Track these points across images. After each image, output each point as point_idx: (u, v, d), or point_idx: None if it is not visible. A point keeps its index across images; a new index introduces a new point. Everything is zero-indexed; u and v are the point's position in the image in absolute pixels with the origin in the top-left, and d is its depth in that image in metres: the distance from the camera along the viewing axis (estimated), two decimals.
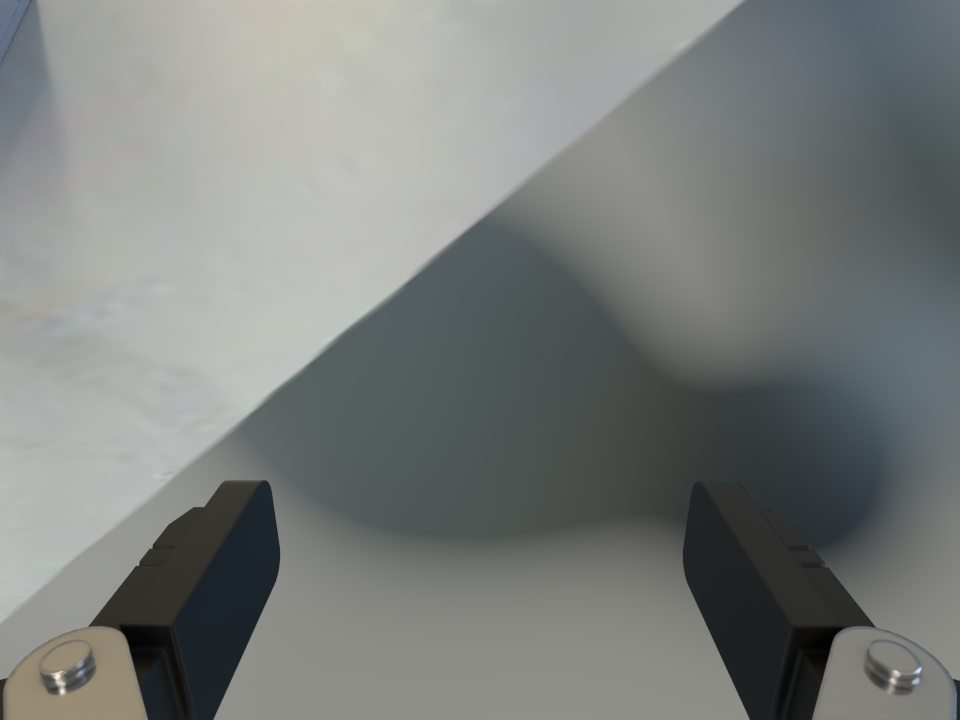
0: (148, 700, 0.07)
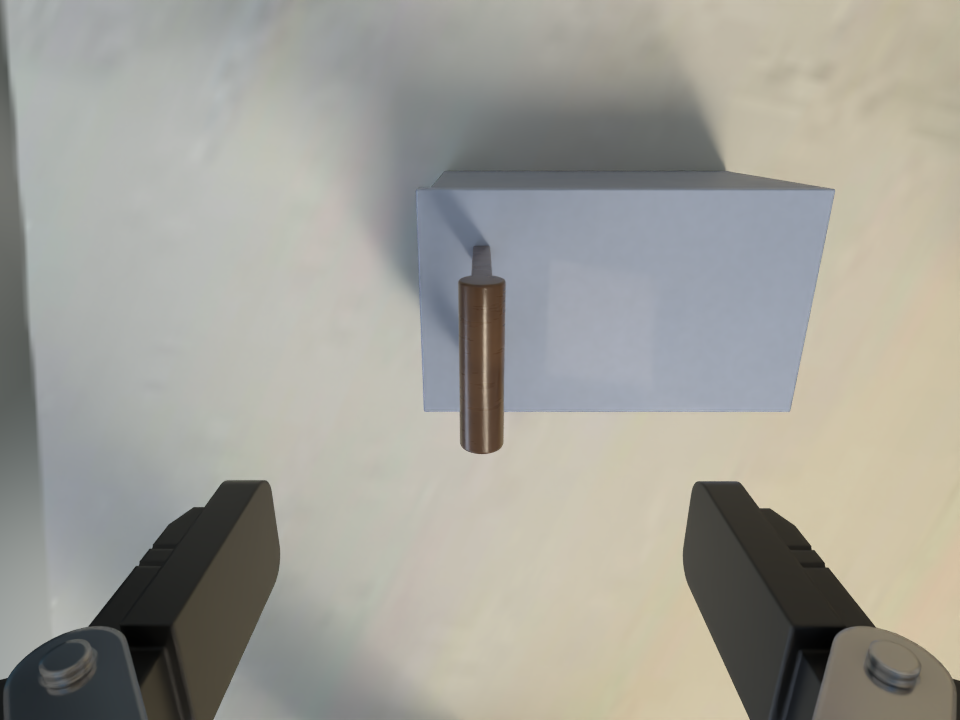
0: (148, 700, 0.07)
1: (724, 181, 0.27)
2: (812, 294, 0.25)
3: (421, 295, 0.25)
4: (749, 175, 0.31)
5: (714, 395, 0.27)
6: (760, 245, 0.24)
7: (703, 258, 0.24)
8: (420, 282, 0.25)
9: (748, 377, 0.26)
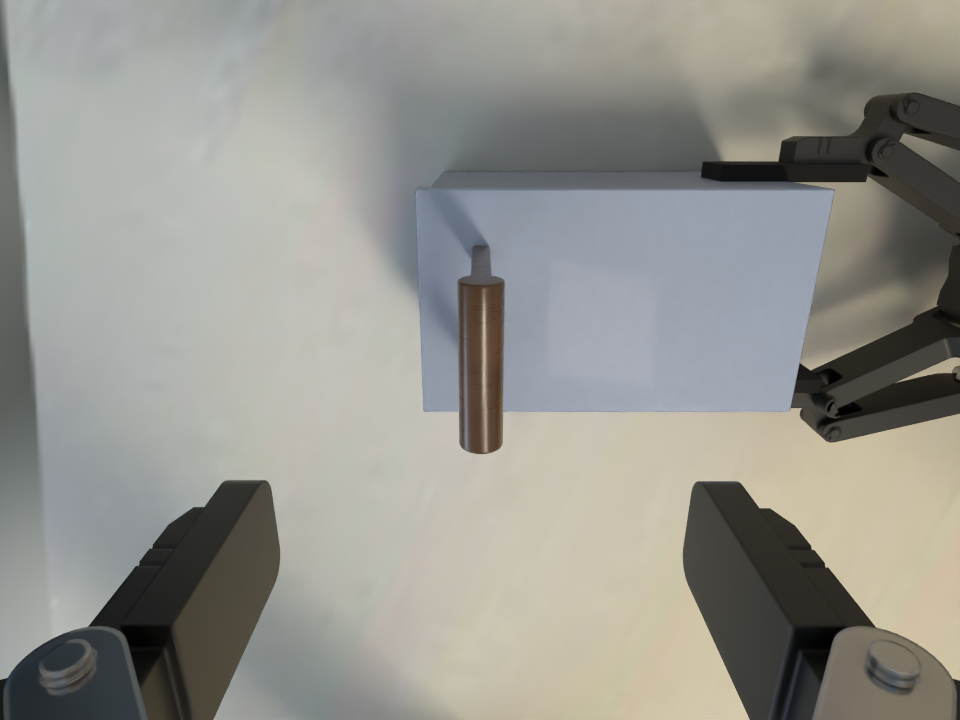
0: (148, 700, 0.07)
1: None
2: (811, 294, 0.25)
3: (421, 295, 0.25)
4: None
5: (714, 395, 0.27)
6: (760, 245, 0.24)
7: (703, 258, 0.24)
8: (420, 282, 0.25)
9: (747, 377, 0.26)
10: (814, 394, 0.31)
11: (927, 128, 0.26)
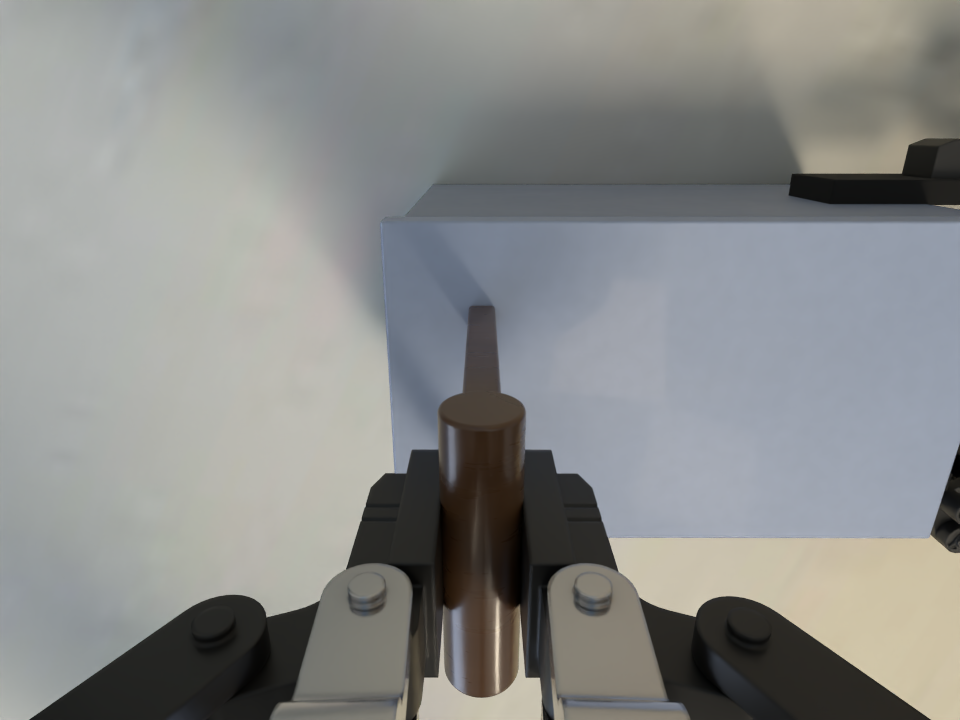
0: (419, 629, 0.08)
1: (833, 204, 0.19)
2: None
3: (391, 377, 0.17)
4: None
5: (821, 517, 0.18)
6: (907, 305, 0.16)
7: (819, 324, 0.16)
8: (389, 358, 0.17)
9: (872, 491, 0.18)
10: None
11: None
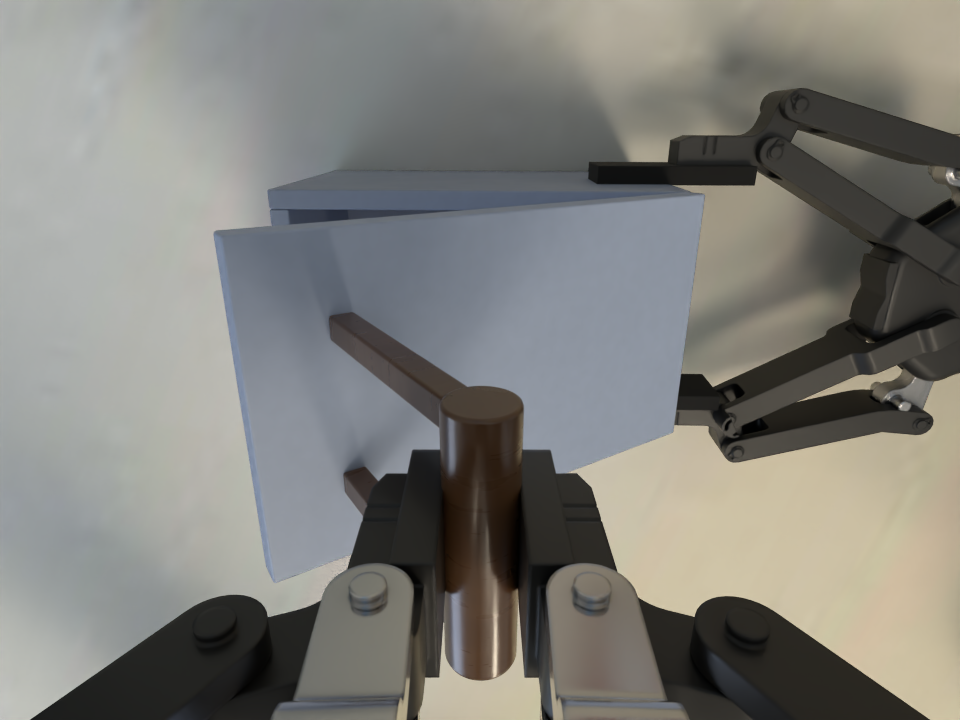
0: (421, 629, 0.08)
1: (600, 184, 0.25)
2: (688, 308, 0.23)
3: (250, 409, 0.15)
4: None
5: (613, 437, 0.23)
6: (648, 263, 0.21)
7: (600, 286, 0.20)
8: (246, 389, 0.15)
9: (641, 408, 0.23)
10: (715, 411, 0.29)
11: (819, 127, 0.24)
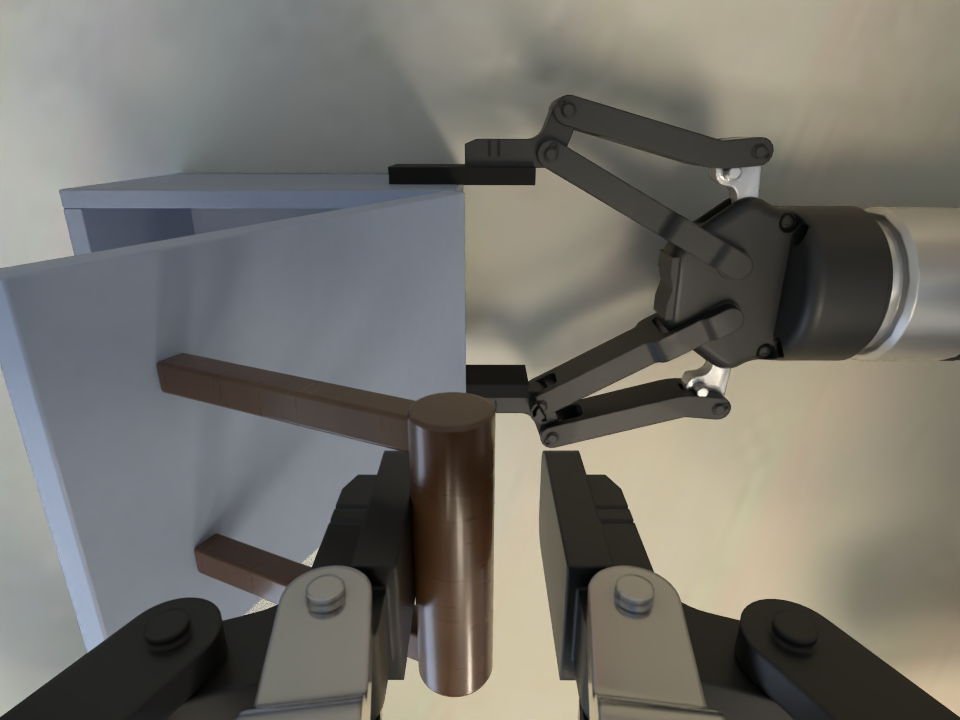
0: (381, 631, 0.08)
1: (391, 184, 0.27)
2: (464, 297, 0.25)
3: (71, 505, 0.11)
4: None
5: None
6: (434, 259, 0.22)
7: (402, 286, 0.20)
8: (62, 479, 0.11)
9: None
10: (529, 399, 0.31)
11: (588, 131, 0.26)
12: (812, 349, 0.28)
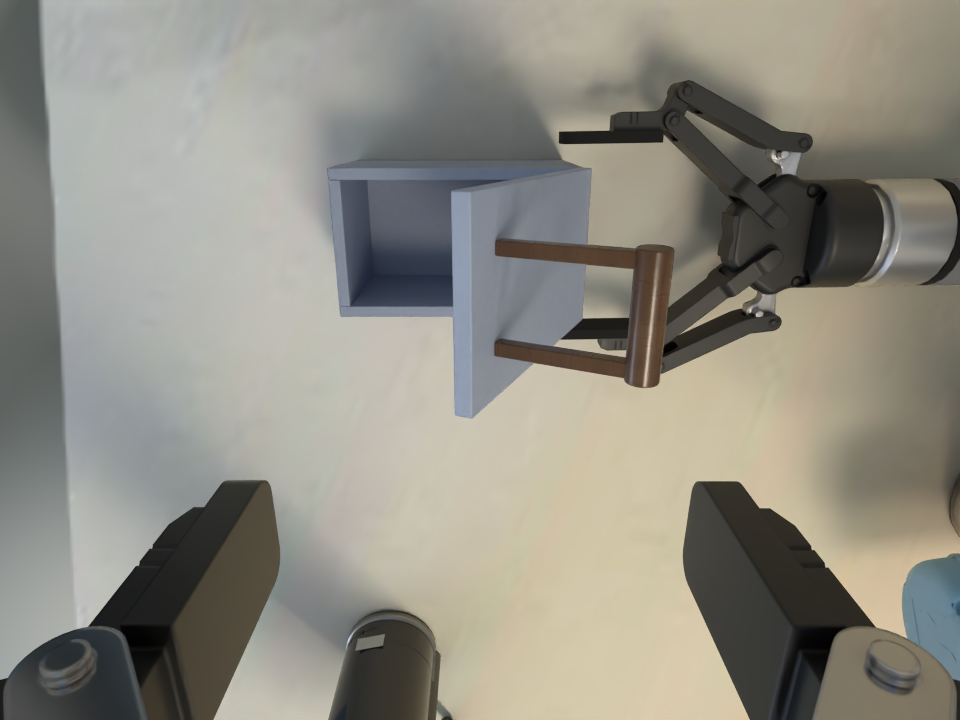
0: (148, 700, 0.07)
1: None
2: None
3: (471, 299, 0.24)
4: None
5: (566, 322, 0.37)
6: (577, 209, 0.35)
7: (564, 223, 0.34)
8: (471, 286, 0.24)
9: (574, 303, 0.38)
10: None
11: (697, 107, 0.39)
12: (830, 276, 0.41)
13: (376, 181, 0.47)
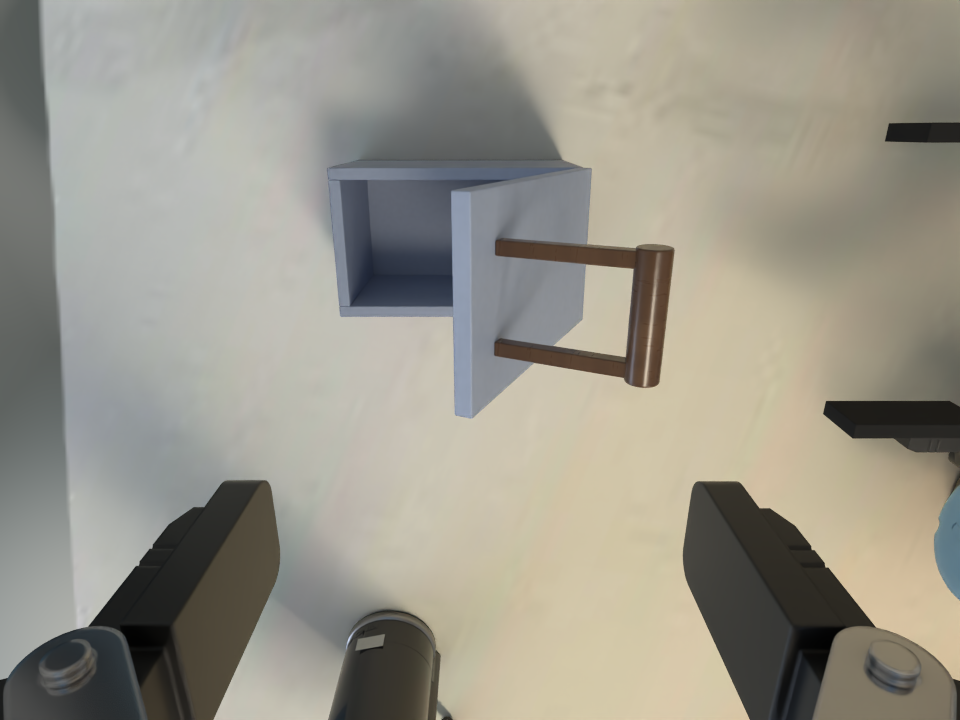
0: (148, 700, 0.07)
1: None
2: None
3: (471, 299, 0.24)
4: None
5: (566, 322, 0.37)
6: (577, 209, 0.35)
7: (564, 223, 0.34)
8: (471, 286, 0.24)
9: (574, 303, 0.38)
10: None
11: None
12: None
13: (376, 181, 0.47)
